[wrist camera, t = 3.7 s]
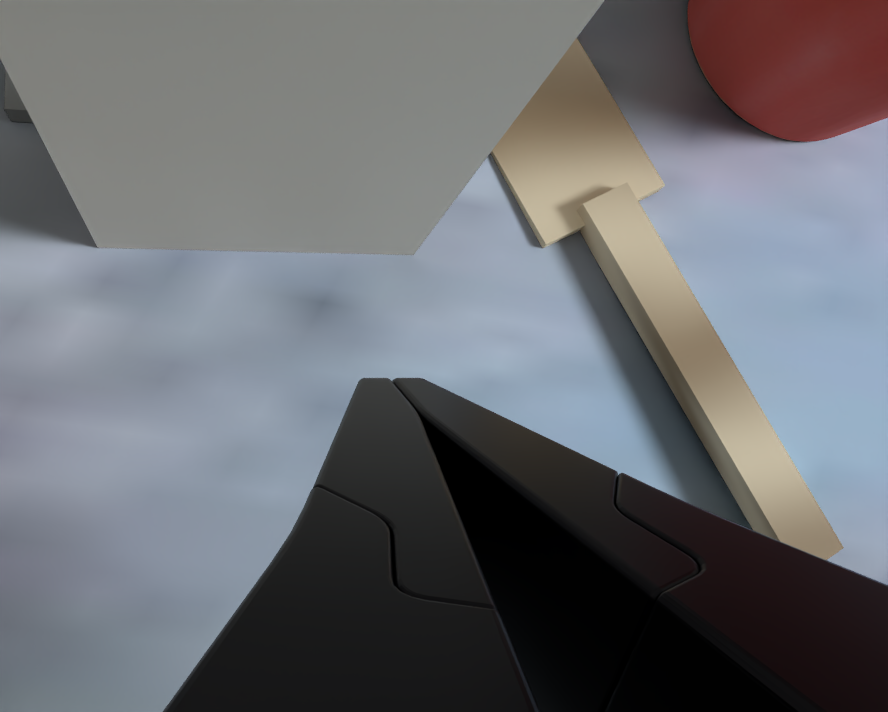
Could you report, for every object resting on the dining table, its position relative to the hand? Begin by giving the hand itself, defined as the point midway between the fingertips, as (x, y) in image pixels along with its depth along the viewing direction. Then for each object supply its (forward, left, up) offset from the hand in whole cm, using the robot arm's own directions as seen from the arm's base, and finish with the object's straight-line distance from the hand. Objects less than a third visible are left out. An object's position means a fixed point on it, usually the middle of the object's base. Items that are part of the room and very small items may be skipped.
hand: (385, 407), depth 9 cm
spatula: (+1, -11, -9) cm, 14 cm away
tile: (+6, -1, -9) cm, 11 cm away
